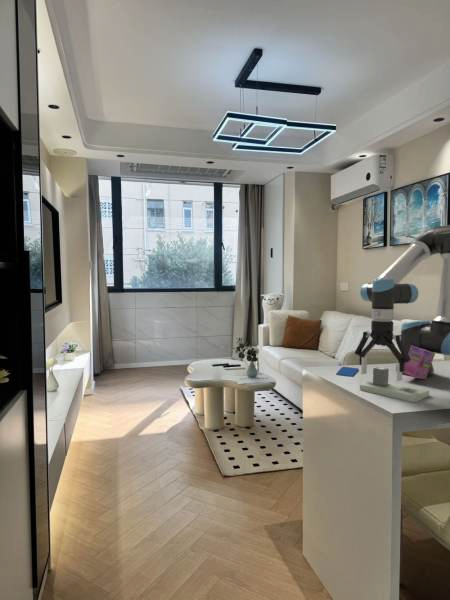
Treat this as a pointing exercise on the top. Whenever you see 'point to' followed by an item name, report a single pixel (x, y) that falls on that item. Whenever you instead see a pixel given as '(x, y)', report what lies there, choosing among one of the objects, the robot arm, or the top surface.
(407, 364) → the box
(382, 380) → the block
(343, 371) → the smartphone
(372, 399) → the top surface
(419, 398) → the outlet plate
